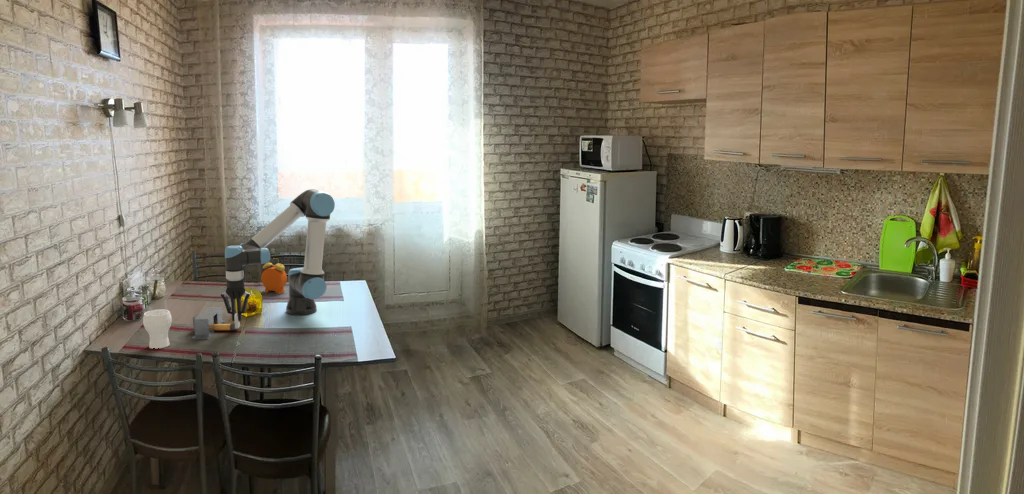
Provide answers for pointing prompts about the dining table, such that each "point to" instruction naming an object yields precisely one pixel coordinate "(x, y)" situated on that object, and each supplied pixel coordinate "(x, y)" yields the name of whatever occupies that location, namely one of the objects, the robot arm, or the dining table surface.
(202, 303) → the dining table surface
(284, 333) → the dining table surface
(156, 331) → the cup
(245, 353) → the dining table surface
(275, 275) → the alarm clock
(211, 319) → the housing
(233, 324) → the hammer
